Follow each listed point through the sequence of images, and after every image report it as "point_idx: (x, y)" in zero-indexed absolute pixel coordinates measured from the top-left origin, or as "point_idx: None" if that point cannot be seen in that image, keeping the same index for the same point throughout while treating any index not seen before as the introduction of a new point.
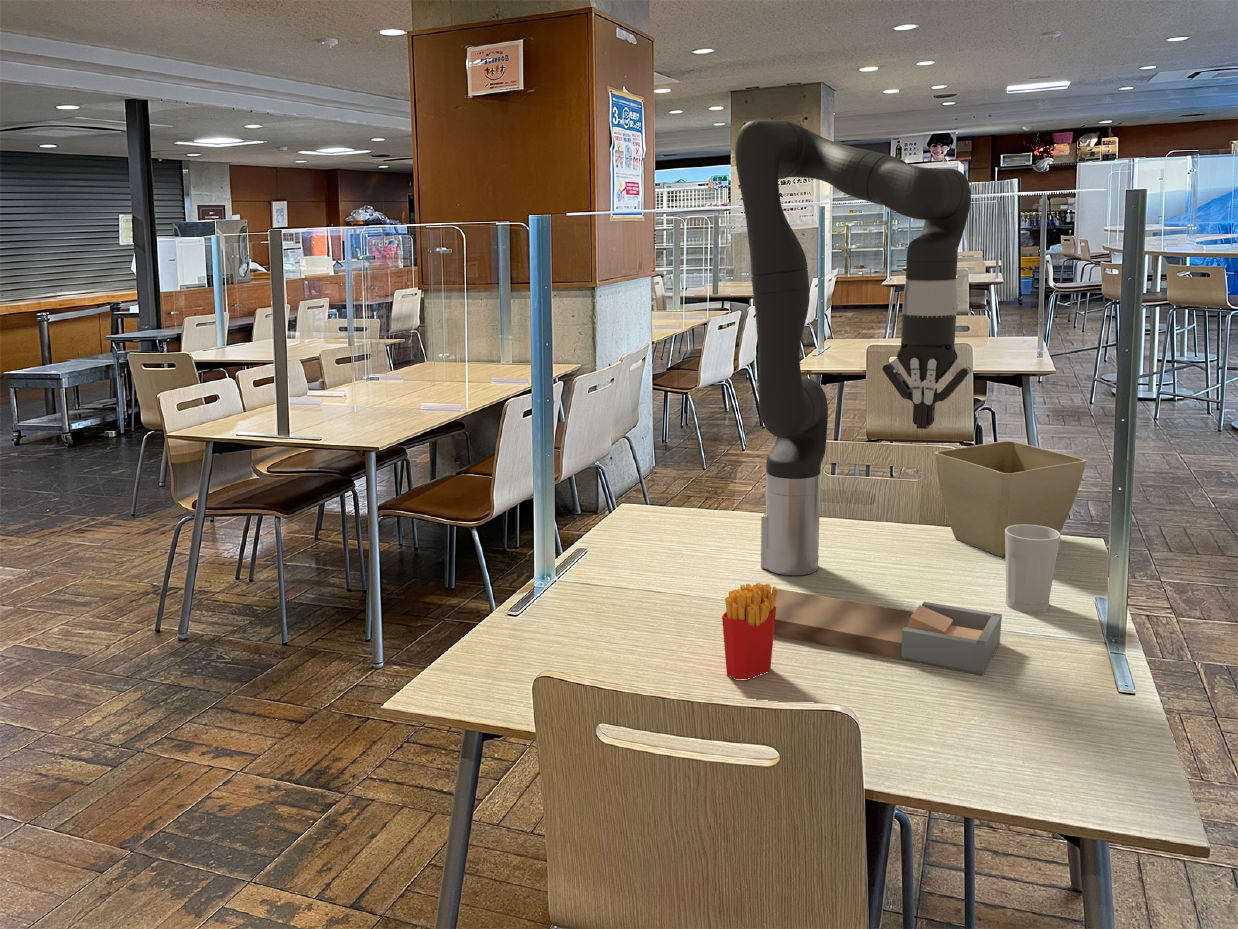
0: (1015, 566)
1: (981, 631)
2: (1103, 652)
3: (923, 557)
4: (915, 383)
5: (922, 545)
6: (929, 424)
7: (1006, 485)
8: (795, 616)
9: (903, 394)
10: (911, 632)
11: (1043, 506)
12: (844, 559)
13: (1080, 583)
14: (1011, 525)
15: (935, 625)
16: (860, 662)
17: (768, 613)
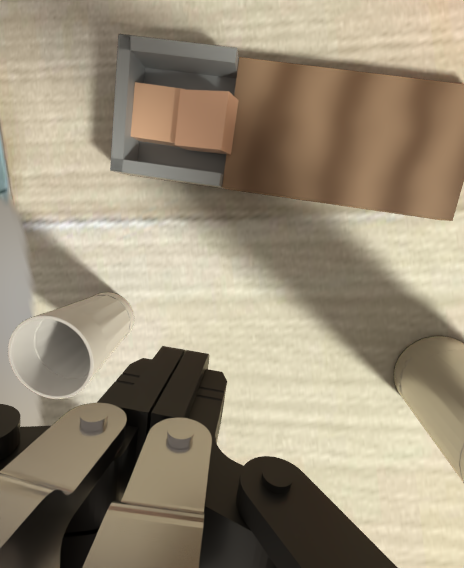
0: (95, 311)
1: (137, 134)
2: (15, 188)
3: (250, 456)
4: (149, 543)
5: None
6: (145, 361)
7: None
8: (408, 106)
9: (288, 478)
10: (223, 46)
11: None
12: (358, 424)
13: (58, 409)
14: None
15: (193, 98)
16: (292, 36)
17: None
